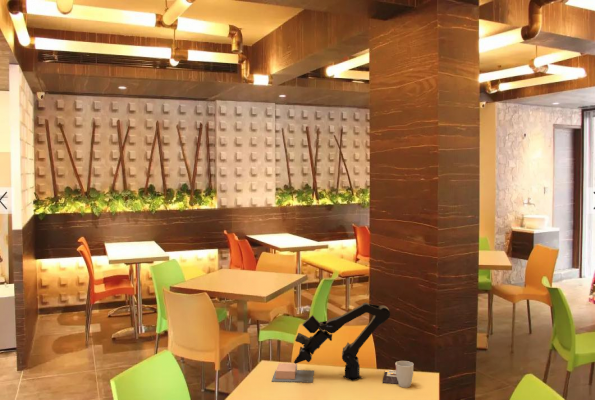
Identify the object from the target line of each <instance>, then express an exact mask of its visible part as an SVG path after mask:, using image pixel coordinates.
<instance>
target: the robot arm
mask: <svg viewBox="0 0 595 400" xmlns="http://www.w3.org/2000/svg"><path fill="white" fill-rule="evenodd" d="M366 313H367V314H369V315H372V317H371V320H370V322H369V323H368V324H367V325H366V326H365V327H364V329H363V330H361V332H360V334H358V336H357V337H356V338H355V340H354V341H352V342H351V343H349V342H347V343H346V344H345V346H344V347H342V351H341V359H342V361H343V362H344V363H345V368H344V375H343V378H344V379H347V380H350V381H355V380H359V379H362V378H363V377H362V376H361V375H360V372H361V371H360V362H359V357H358V356H357V355H358V353H359V350H360V349H361V348H362V346H363V345H364V344H365V343H366V342H367V340H368V339H369V338H370V337H371V335H372V334H373V333H374V332H375V330H377V328H378V327H379V326H381V325H382V324H384V323H385V322H386V321H388V319H390V317H391V312H390V309H389V308H388V307H387V306H386V305H383V304H382V305H377V304H372V303H370V302H369V303H368V302H363V303H362V304H360V305H359V306H357V307H355V308H353V309H351V310H350V311H349V310H348V311H347V312H345V313H343V314H341V315H339V316H335V317H331V318H329V319H327V320H324V321H319V320H318V319H317V318H316V317H315V316H314V314H311V316H309V317H308V318H307V319H305V321H304V322H303V323H302V325H301V326H302V327H304V328H305V329H306V331H308V333H310V334H313V335H311V336H309V337H308V336H306V335H304V334H303V333H300V332H298V333H297V335H296V337H295V340H294V341H295V342H296V343H300V344H301V345H303V346H300V347H299V353H298V354H297V356H296V358H295V359H294V361H293V363H295V364H299V363H301V362H304V361H306V362H307V363H310V362H311V361H312V359H313V355H314V354H315V352H316V351H317V350H318V349H320V348H321V345H323V344H324V343H325V342H326V341H327V340H329V341H331V342H332V341H333V334H335V333H337V331H339V330H340V329H341V328H343V326H344V325H345V324H347V323H349V322H352V321H353V320H355V319H357V318H358V317H360V316H362V315H364V314H366Z"/></svg>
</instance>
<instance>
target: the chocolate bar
mask: <svg viewBox="0 0 595 400" xmlns="http://www.w3.org/2000/svg"><path fill="white" fill-rule="evenodd" d="M388 370H389V372H385V371H384V372H383V373H384V374H383V378H382V384H386V385H399V384H398V381H397V376H396V369H395V370H392V369H388ZM388 373H390V374H388ZM391 373H393V374H391Z"/></svg>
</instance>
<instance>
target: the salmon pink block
mask: <svg viewBox="0 0 595 400" xmlns="http://www.w3.org/2000/svg"><path fill="white" fill-rule="evenodd" d="M275 370H276V379H295V377H296V373H297V370H298V363H296V364H295V363H294V362H292V363H290V362H289V363H288V362H285V363H284V362H283V363H282V362H279V363H278V364H277V366H276V369H275Z"/></svg>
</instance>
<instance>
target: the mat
mask: <svg viewBox="0 0 595 400" xmlns="http://www.w3.org/2000/svg"><path fill="white" fill-rule="evenodd" d="M313 376H315V369H314V370H313V369H297V373H296V377H295V379H276V369H275V370H274V373H273V375H272V379H271V383H300V382H302V383H306V384H309V383H310V384H311V383H312V384H313V381H314V377H313Z"/></svg>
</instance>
